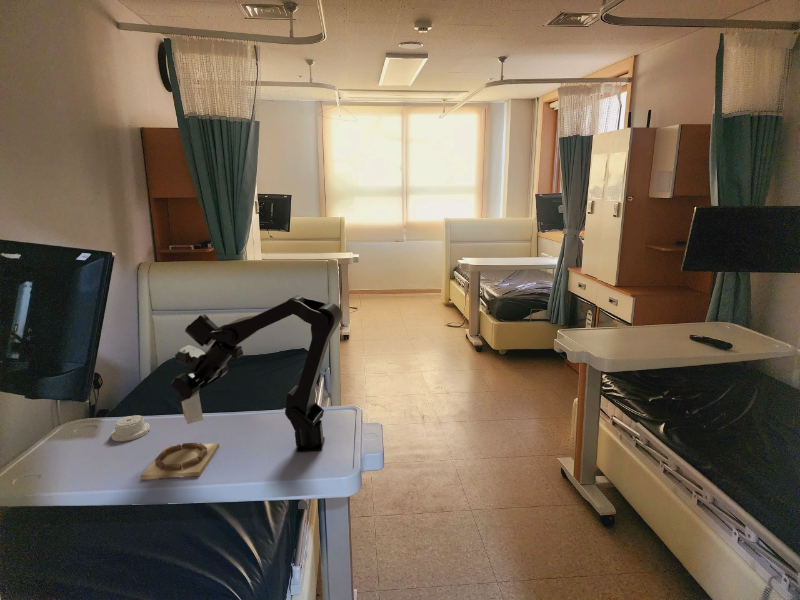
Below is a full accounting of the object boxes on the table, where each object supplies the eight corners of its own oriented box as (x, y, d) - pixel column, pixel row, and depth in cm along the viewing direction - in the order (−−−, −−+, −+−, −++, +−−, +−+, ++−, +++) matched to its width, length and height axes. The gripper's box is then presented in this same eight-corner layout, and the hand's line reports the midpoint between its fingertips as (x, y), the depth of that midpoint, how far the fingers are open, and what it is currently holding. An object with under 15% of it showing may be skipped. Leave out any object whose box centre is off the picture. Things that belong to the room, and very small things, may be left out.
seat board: (219, 447, 133) (218, 439, 133) (199, 476, 120) (198, 467, 119) (167, 450, 133) (166, 442, 133) (141, 479, 119) (140, 470, 119)
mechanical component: (103, 441, 141) (133, 443, 139) (100, 427, 140) (131, 428, 138) (128, 425, 150) (157, 427, 148) (126, 412, 149) (155, 413, 147)
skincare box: (183, 417, 138) (176, 376, 135) (199, 412, 140) (193, 372, 138) (186, 424, 133) (179, 382, 130) (203, 420, 135) (197, 378, 132)
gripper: (212, 327, 140) (183, 364, 144) (171, 347, 122) (139, 389, 126) (242, 353, 140) (212, 390, 144) (205, 378, 122) (172, 418, 126)
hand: (185, 395), depth 135 cm, fingers closed on skincare box, 7 cm apart
